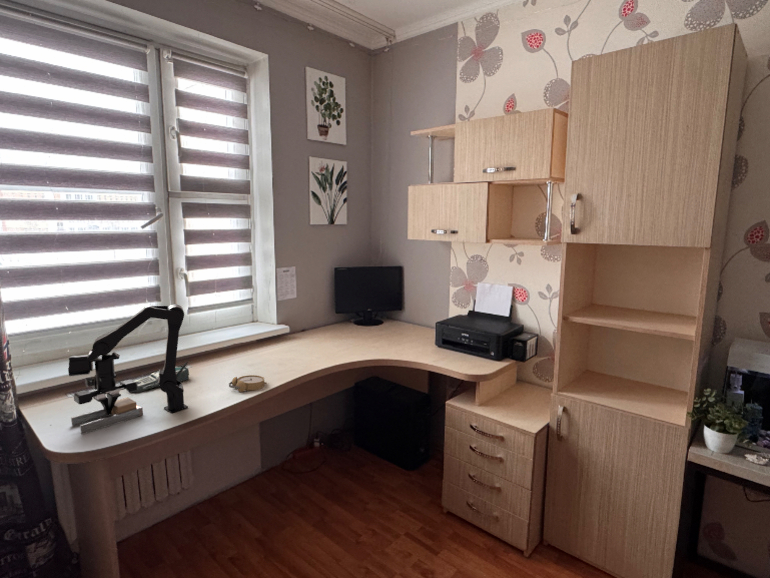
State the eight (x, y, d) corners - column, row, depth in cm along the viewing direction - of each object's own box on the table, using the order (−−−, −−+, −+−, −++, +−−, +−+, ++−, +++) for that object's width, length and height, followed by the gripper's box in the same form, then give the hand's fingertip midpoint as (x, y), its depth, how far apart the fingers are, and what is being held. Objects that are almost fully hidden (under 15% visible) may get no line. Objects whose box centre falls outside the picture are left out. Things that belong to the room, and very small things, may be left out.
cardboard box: (137, 415, 166) (136, 402, 165) (119, 420, 161) (117, 407, 161) (129, 409, 171) (128, 397, 170) (111, 415, 166) (109, 402, 165)
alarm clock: (269, 380, 194) (235, 382, 184) (268, 392, 194) (233, 394, 184) (258, 373, 202) (225, 375, 193) (257, 384, 202) (223, 386, 193)
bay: (143, 415, 166) (142, 407, 166) (82, 434, 151) (81, 425, 151) (131, 407, 173) (130, 400, 172) (71, 425, 158) (71, 417, 157)
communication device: (123, 389, 192) (120, 369, 191) (179, 374, 210) (178, 356, 208) (133, 396, 184) (131, 375, 183) (191, 380, 202) (189, 361, 200)
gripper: (124, 361, 172) (127, 400, 174) (66, 373, 157) (70, 416, 160) (136, 367, 165) (139, 408, 167) (77, 381, 150) (81, 425, 153)
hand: (108, 414), depth 162 cm, fingers closed
